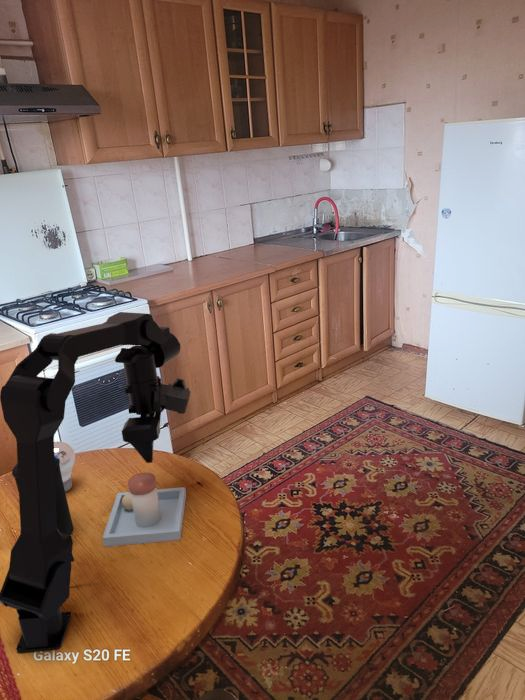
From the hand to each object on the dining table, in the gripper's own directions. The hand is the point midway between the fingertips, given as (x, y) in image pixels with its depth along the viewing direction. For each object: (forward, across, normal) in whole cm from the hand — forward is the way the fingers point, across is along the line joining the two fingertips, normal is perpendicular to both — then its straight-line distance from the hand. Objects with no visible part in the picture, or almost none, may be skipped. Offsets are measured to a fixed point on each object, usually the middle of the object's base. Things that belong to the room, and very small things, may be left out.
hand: (153, 449), depth 106 cm
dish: (+13, -5, +2) cm, 14 cm away
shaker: (+12, -5, +2) cm, 14 cm away
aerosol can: (+13, -7, +20) cm, 25 cm away
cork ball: (+12, -1, +6) cm, 14 cm away
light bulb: (+13, +8, +22) cm, 27 cm away
